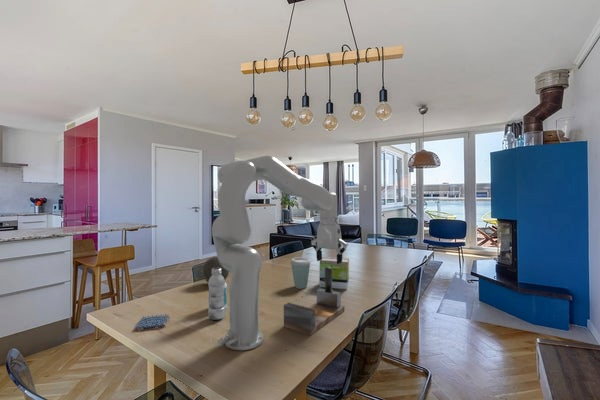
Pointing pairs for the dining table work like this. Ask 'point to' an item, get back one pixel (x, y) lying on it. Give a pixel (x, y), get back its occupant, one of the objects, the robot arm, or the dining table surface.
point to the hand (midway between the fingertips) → (329, 261)
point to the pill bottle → (224, 296)
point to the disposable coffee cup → (300, 272)
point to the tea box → (335, 272)
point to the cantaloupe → (213, 264)
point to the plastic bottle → (216, 295)
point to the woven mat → (152, 322)
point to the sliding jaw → (328, 292)
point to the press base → (318, 318)
